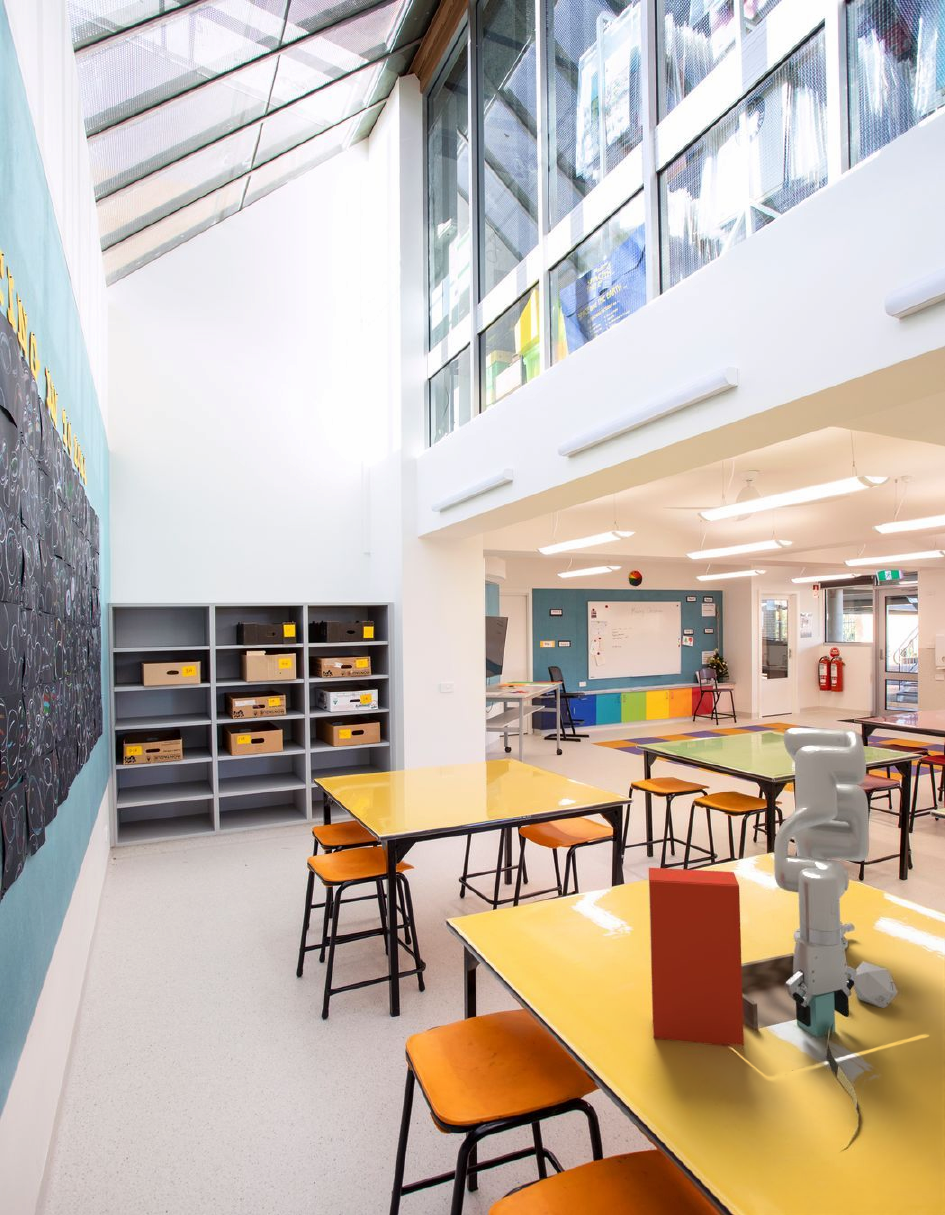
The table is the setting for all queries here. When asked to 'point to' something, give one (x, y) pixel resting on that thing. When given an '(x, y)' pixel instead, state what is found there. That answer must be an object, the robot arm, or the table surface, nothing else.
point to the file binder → (696, 956)
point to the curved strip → (841, 1076)
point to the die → (874, 985)
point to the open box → (767, 991)
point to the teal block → (820, 1014)
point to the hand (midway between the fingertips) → (822, 1018)
